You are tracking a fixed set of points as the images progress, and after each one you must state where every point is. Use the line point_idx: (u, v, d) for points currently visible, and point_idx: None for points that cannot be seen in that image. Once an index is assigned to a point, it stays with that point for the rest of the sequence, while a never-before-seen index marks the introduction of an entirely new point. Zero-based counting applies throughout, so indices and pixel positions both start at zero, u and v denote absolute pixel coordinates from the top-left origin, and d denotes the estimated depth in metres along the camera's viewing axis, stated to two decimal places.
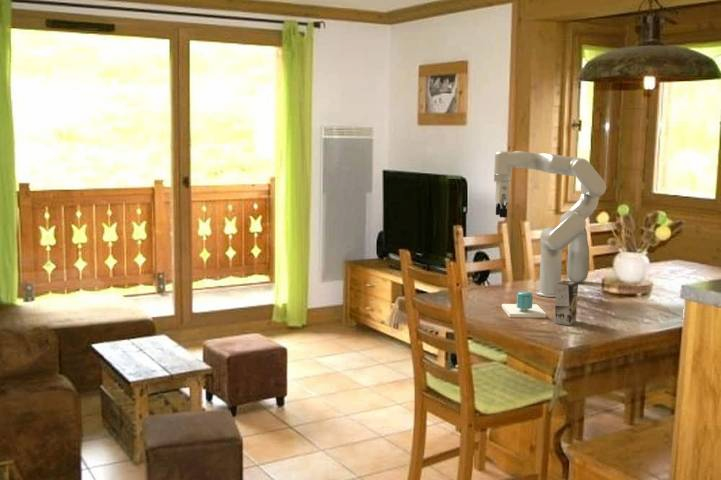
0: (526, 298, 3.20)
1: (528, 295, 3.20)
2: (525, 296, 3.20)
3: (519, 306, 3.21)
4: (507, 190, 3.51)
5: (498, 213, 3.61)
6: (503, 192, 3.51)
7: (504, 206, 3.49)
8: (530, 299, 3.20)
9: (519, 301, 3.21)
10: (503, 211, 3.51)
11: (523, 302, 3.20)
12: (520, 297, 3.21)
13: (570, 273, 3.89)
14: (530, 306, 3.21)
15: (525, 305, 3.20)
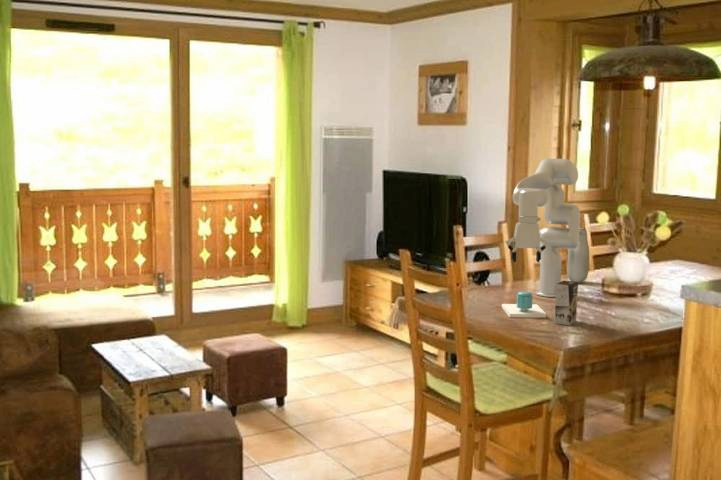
0: (526, 298, 3.20)
1: (528, 295, 3.20)
2: (525, 296, 3.20)
3: (519, 306, 3.21)
4: None
5: None
6: None
7: None
8: (530, 299, 3.20)
9: (519, 301, 3.21)
10: None
11: (523, 302, 3.20)
12: (520, 297, 3.21)
13: (570, 273, 3.89)
14: (530, 306, 3.21)
15: (525, 305, 3.20)
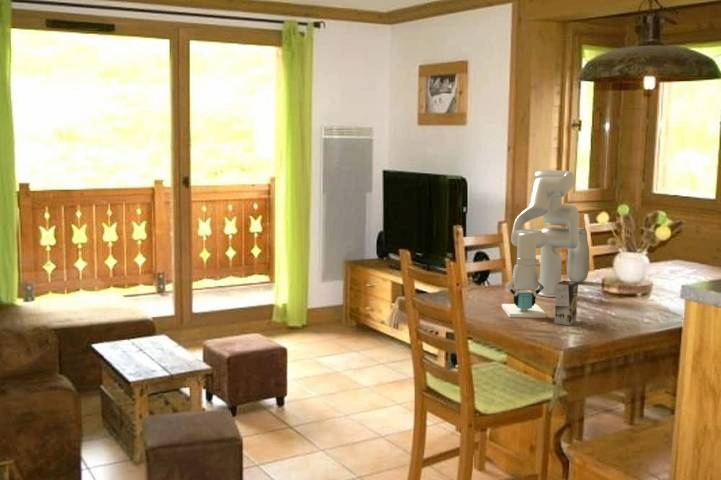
0: (527, 298, 3.20)
1: (528, 295, 3.20)
2: (525, 296, 3.20)
3: (519, 306, 3.21)
4: None
5: None
6: None
7: None
8: (530, 299, 3.20)
9: (519, 301, 3.21)
10: None
11: (523, 302, 3.20)
12: (520, 297, 3.21)
13: (570, 273, 3.89)
14: (530, 306, 3.21)
15: (525, 305, 3.20)
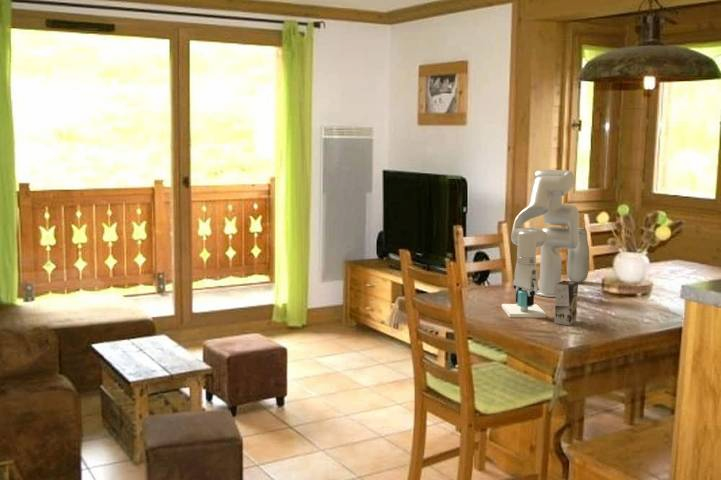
0: (520, 296, 3.21)
1: (522, 293, 3.20)
2: (519, 293, 3.21)
3: None
4: (536, 274, 3.18)
5: None
6: (533, 278, 3.17)
7: (534, 294, 3.18)
8: (524, 297, 3.20)
9: None
10: (531, 299, 3.19)
11: None
12: None
13: (570, 273, 3.89)
14: (524, 304, 3.20)
15: (519, 302, 3.22)
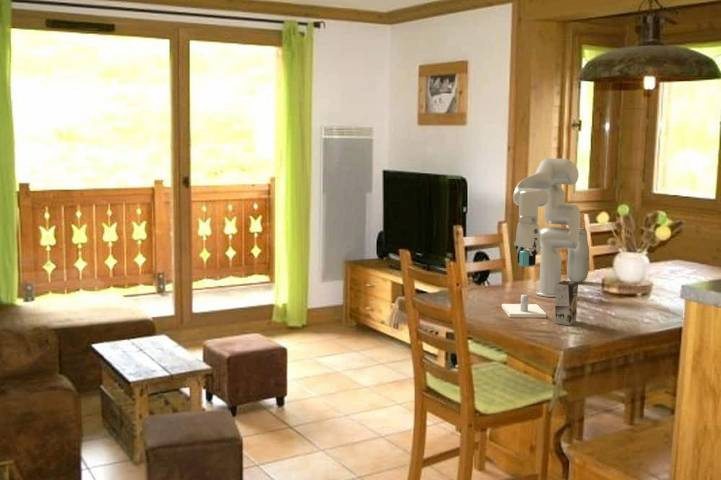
0: (522, 255, 3.19)
1: (523, 253, 3.19)
2: (521, 253, 3.20)
3: None
4: (538, 233, 3.16)
5: None
6: (535, 237, 3.15)
7: (536, 253, 3.16)
8: (525, 257, 3.18)
9: None
10: (533, 258, 3.17)
11: (519, 259, 3.21)
12: (519, 254, 3.22)
13: (570, 273, 3.89)
14: (526, 264, 3.19)
15: (521, 262, 3.20)
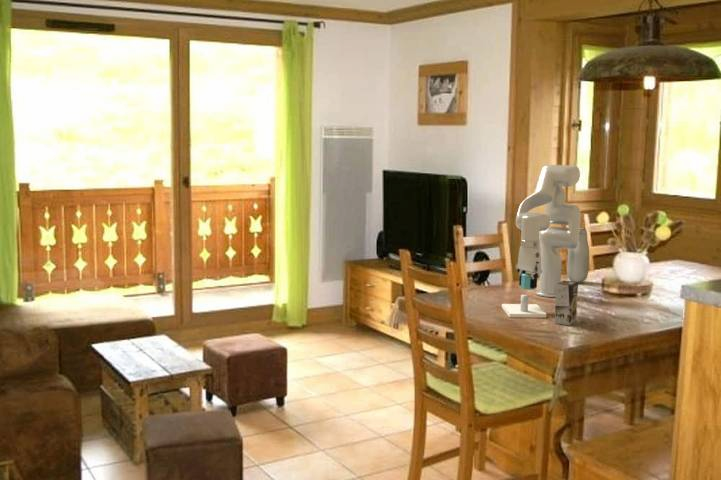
0: (523, 278, 3.28)
1: (525, 276, 3.27)
2: (523, 276, 3.28)
3: None
4: (540, 257, 3.25)
5: None
6: (537, 261, 3.24)
7: (537, 276, 3.25)
8: (527, 280, 3.27)
9: None
10: (535, 281, 3.26)
11: (521, 282, 3.29)
12: (521, 277, 3.30)
13: (570, 273, 3.89)
14: (527, 287, 3.27)
15: (522, 285, 3.28)
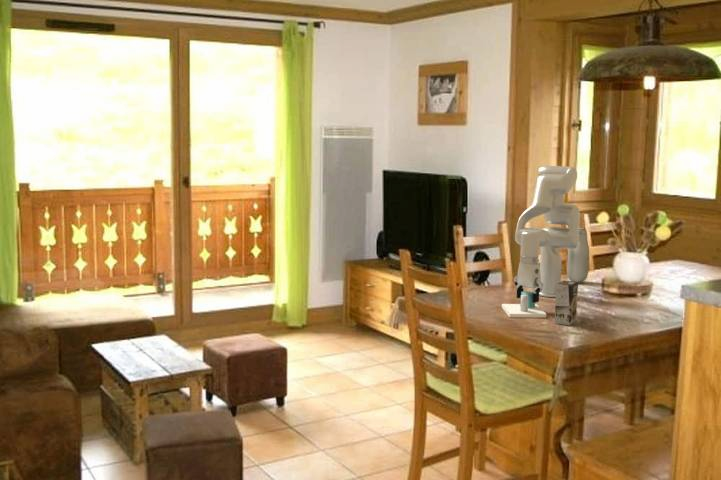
0: None
1: (524, 294, 3.28)
2: None
3: (520, 304, 3.32)
4: (539, 273, 3.26)
5: (519, 296, 3.34)
6: (536, 276, 3.25)
7: (539, 291, 3.24)
8: None
9: None
10: (537, 296, 3.25)
11: None
12: None
13: (570, 273, 3.89)
14: None
15: None
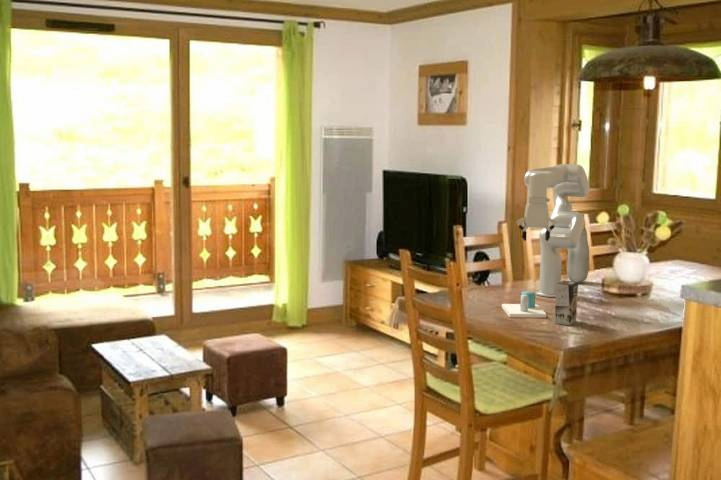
0: None
1: (524, 294, 3.28)
2: None
3: (520, 304, 3.32)
4: None
5: None
6: None
7: None
8: None
9: None
10: None
11: None
12: None
13: (570, 273, 3.89)
14: None
15: None
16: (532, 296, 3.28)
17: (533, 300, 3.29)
